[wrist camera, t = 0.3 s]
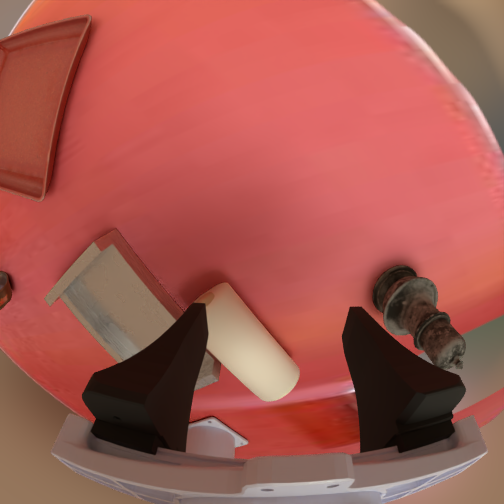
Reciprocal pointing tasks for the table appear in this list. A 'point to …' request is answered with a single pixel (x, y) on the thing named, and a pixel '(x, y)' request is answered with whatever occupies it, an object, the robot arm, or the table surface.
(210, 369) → the cradle
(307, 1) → the table surface
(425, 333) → the rusty metal finial
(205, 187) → the table surface
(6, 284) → the tin
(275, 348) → the roll
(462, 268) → the table surface
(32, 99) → the plant saucer
